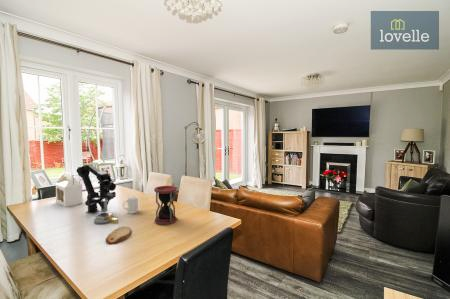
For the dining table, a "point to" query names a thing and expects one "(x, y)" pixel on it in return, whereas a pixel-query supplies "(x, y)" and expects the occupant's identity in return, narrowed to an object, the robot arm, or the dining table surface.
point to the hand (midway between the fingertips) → (104, 208)
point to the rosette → (105, 218)
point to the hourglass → (165, 205)
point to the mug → (132, 204)
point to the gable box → (68, 190)
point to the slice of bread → (118, 235)
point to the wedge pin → (104, 206)
